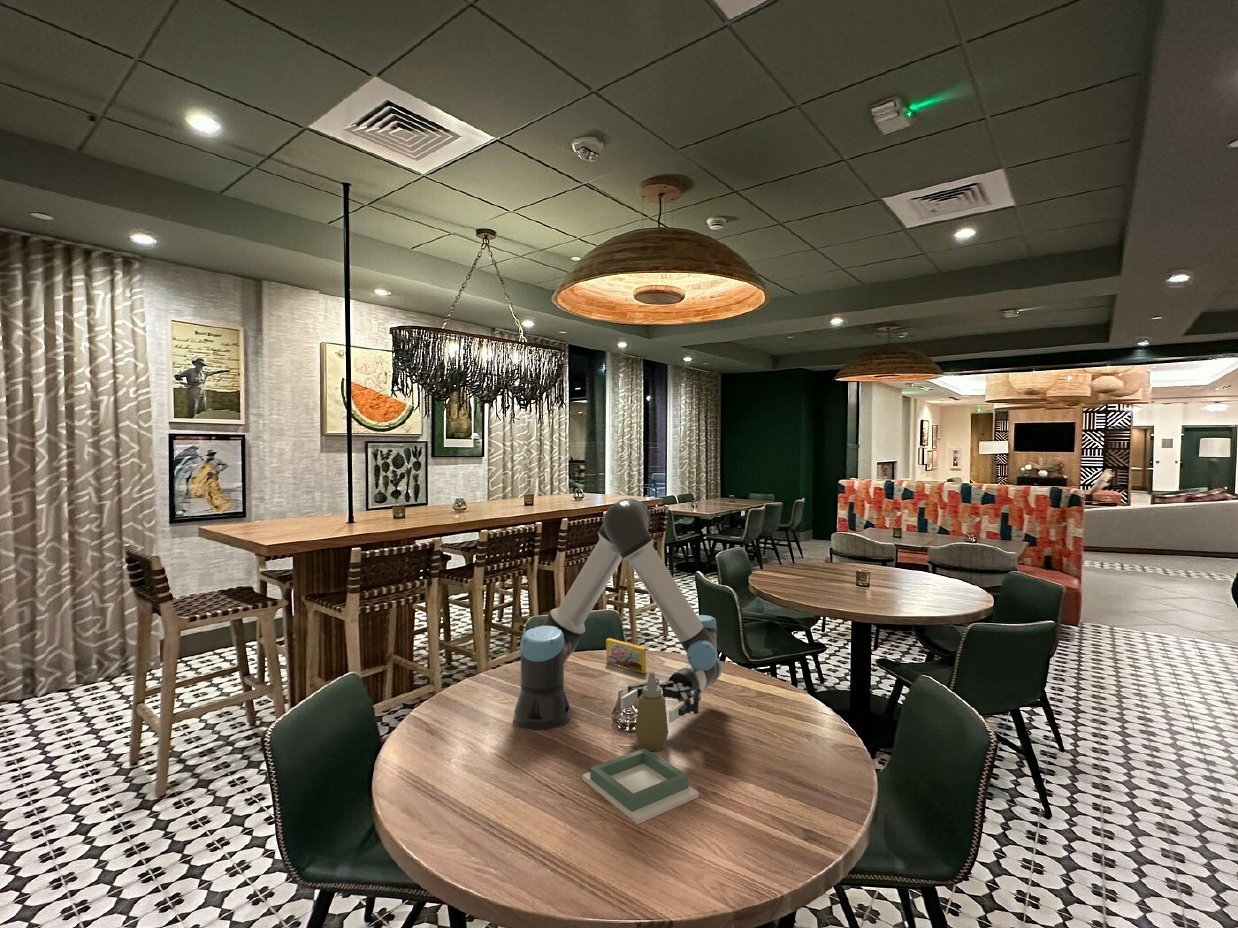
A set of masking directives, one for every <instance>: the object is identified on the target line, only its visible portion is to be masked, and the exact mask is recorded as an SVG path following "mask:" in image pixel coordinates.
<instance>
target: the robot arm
mask: <svg viewBox="0 0 1238 928" xmlns="http://www.w3.org/2000/svg"><path fill="white" fill-rule="evenodd" d="M650 524H651V515H650V512H649V510H648V508H647V507H646V505H645V504H644V503H642V502H641V501H639V499H636V498H631V497H630V498H628V497H627V498H623V499H620V500H618V501H617V502H614V503H613V504H612V505H611V506H609V508H608V509H607V510H606V512H605V514H604V516H603V522H602V524H601V526H600V528H599V530H598V531H597V534H598V541H597V543H596V545H595V546H594V548H593V549H592V552H591V553H590V554H589V556H588V558H587V560H586V561H585V562H584V564H583V567H582V568H581V569H580V572H579V573H578V575H577V576H576V578H575V579H574V581H573V583H572V584H571V587H570V588H569V589H568V592H567V593H566V595H565V597H564V598H563V600H562V602H561V603H560V605H559V607H557V608H556V607H555V608H553V609H551V610H550V611H549V613H548V615H547V617H546V619H545V620H544V621H543V624H541V625H540V626H534V627H533V628H529V629H527V630H526V631H524V633H523V634H522V635H521V639H520V645H519V652H520V692H519V695H518V699H517V701H516V703H515V708H514V711H513V713H514V715H513V716H514V722H515V724H516V725H518V726H519V727H521V728H525V729H529V730H549V729H550V730H551V729H555V728H558V727H560V726H561V727H562V725H565V724H566V723H567V722H568V721H569V720H570V718H571V706H570V703H569V700H568V697H567V694H566V690H565V664H566V662H567V660H568V659H569V657H570V656H571V655H572V654H573V653H574V652H575V650H576V649H577V646H578V643H579V642H580V640H581V638H582V636H583V635H584V633H585V632H586V627H585V622H586V620H587V618H588V616H589V615H590V613H591V612H592V610H593V608H594V607H595V605H596V603H597V602H598V600H599V598H600V597H601V595H602V593H603V592H604V590H605V588H606V587H607V585H608V583H609V582H610V581H611V578H612V576H613V574H614V573H615V572H616V570H617V569H618V567H619V565H620V563H621V562H622V560H623V561H627V562H628V563H629V564H630V565H631V567H632V569H633V570H634V571H635V574H636V575H637V576H638V578H639V580H640V581H641V583H642V585H643V587H644V588H645V589H646V591H647V592H648V594H649V595H650V597H651V598H652V601H654V603H655V605H656V607H657V608H658V610H659V611H660V613H661V615H662V617H664V619H665V621H666V622H667V624H668V625H669V627H670V629H671V630H672V631H673V633H674V636H675V637H676V638H677V639H678V641H679V643H680V645H681V646H682V649H684V651H685V654H686V657H687V658H686V659H687V661H688V664H686V666H683V667H682V668H679V670H678V671H675V672H673V674H671V675H670V677H668V678H669V679H668V680H667V681H663V682H660V679H659V678H655V679H656V684H657V685H658V686H660V687H661V695H662V696H663V697H665V698H668V699H673V700H677V701H678V702H679V703H677V704H676V705H675V706H673V707H672V708H670V709H669V710H668V722H669V723H670V724H671V723H674V722H675V721H676V720H678V719H679V718H680V717H684V716H685V715H686V714H691V712H693V713H692V714H695V715H698V714H699V702H700V701H701V699H702V691H703V690H704V689H706V688H707V687H709V686H710V685H712V684H713V683H716V681H717V680H718V679H719V678H720V676H721V675H722V672H723V665H722V663H721V661H720V659H719V658H718V655H719V653H718V648H717V647H718V646H717V644H718V643H717V630H718V628H717V620H716V618H715V617H713V616H711V615H706V614H699V615H698V614H696V612H695V610H694V609H693V607H692V606H691V604H690V603H689V601H688V600H687V598H686V597H685V595H684V593H683V591H682V590H681V588H680V586H679V585H678V584H677V582H676V580H675V579H674V578H673V576H672V574H671V573H670V571H669V569H668V568H667V566H666V565H665V562H664V561H663V560H662V558H661V556H660V555H659V553H658V552H657V551H656V549H655V547H654V545H653V544H654V543H653V542H654V538H653V537H652V535H651V534H650V532H649V530H648V529H649V527H650ZM647 682H648V681H644V682H643V681H642V682H639V683H635V684H629V685H628V686H627V693H625V695H623V696H622V697H620V709H621V710H624V709H626V708H628V707H630V706H631V705H633V704H634V703H636V702H638V700H639V697H640V696H641V695H642V694H643V693H642V687H643V686H645V685H647ZM691 699H692V701H693V703H691Z"/></svg>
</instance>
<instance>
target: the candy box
mask: <svg viewBox="0 0 1238 928" xmlns="http://www.w3.org/2000/svg"><path fill="white" fill-rule="evenodd" d="M605 643H606V644H605V647H606V648H605V649H606V652H605V653H606V655H605V656H606V663H607V662H608V664H611V663H612V665H614V664H615V665H614V666H617V665H620V666H619V667H621V666H623V667H622V668H624V667H626V668H625V669H628V668H629V669H628V670H631V669H632V671H634V672H635V671H636V672H639V673H642V674H645V673H646V672H647V652H646V651H647V649H646V647H644V646H641V645H637V644H633V643H629V642H626V641H622V640H618V639H614V638H611V637H609V638H607V639H606V640H605Z"/></svg>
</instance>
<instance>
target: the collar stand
mask: <svg viewBox="0 0 1238 928" xmlns="http://www.w3.org/2000/svg"><path fill="white" fill-rule="evenodd" d="M581 777H582V778H581V779H582V781H584V782H585V783H586V784H587V785H588V786H590V787H591V789H594V791H596V792H597V793H598V794H600V795H601V796H602V797H604V799H606V801H608V802H609V803H610V804H612V805H613V806H614V807H616V808H617V809H618V810H619V811H621V812H622V813H623V814H624V815H626V817H628V818H629V819H630V820H632V821H633V822H634V823H635V824H637V825H639V824H641V823H643V822H646V821H648V820H651V819H653V818H655V817H657V816H660V815H661V814H664V813H666V812H669V811H670V810H673V809H675V808H678V807H680V806H682V805H684V804H686V803H688V802H691V801H693V800H696V799H697V798H699V797H700V796H699V795H700V794H699V793H700V792H699V791H698V790H696V789H694V788H693V787H691V786H690V784H689V783H690V776H689V775H688V774H687V773H685V772H683V771H682V770H681V769H679V768H677V767H675V766H674V765H673V764H671V763H669V762H668V761H667V760H664V759H663V758H661V757H660V756H658V755H656V754H655V753H653V751H649V750H647V749H645V748H644V749H642V748H641V749H638V750H635V751H632V752H631V753H627V754H625V755H621V756H619V757H616V758H613V759H610V760H608V761H605V762H601V763H599V764H596V765H594V766H592V767H590V770H589V772H586V773H583V774H582V775H581Z"/></svg>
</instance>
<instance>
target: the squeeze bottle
mask: <svg viewBox="0 0 1238 928" xmlns="http://www.w3.org/2000/svg"><path fill="white" fill-rule="evenodd" d="M656 679H657V678H656V674H655V672H653V671H650V672H649V674H648V678H647V681H646V682H647V685H645V686H643V687H642V693H643V694H642V695H641V696H640V697H639V698H638V700H637V711H636V713H637V714H636V722H635V723H636V724H635V735H636V737H637V740H638V744H639V747H640V748H641V749H644V748H645V749H647V750H649V751H650V752H657V751H660V750H662V749H663V748H664V747H665V743H666V741H667V738H668V734H669V727H668V716H667V715H668V714H667V704H666V699H665V698H666V697H663V696H662V695H661V694H662V688H661V687H660V686H658V685H657V684H656Z"/></svg>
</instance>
